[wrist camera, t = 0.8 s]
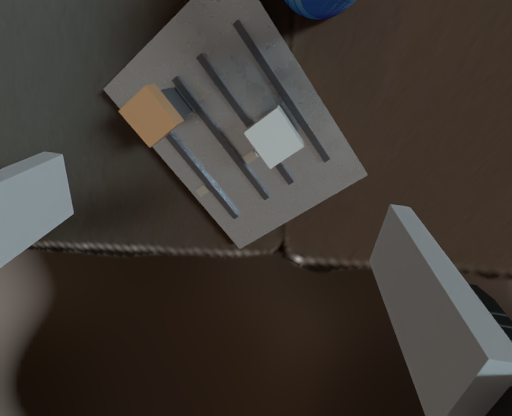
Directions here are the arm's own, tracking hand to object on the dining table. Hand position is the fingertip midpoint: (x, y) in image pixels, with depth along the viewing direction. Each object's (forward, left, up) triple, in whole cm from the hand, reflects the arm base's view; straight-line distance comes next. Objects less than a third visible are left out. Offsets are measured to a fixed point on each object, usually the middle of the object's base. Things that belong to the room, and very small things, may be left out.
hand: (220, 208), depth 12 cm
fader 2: (+1, 0, -21) cm, 21 cm away
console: (-1, -4, -24) cm, 24 cm away
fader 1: (-7, -8, -21) cm, 24 cm away
